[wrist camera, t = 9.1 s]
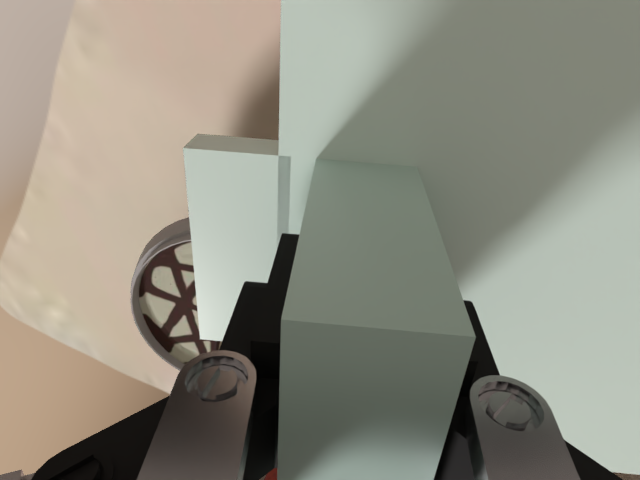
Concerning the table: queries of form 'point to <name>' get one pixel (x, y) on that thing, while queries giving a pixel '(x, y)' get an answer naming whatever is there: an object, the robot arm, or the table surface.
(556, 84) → the lid
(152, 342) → the food container
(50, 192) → the table surface
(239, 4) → the table surface
